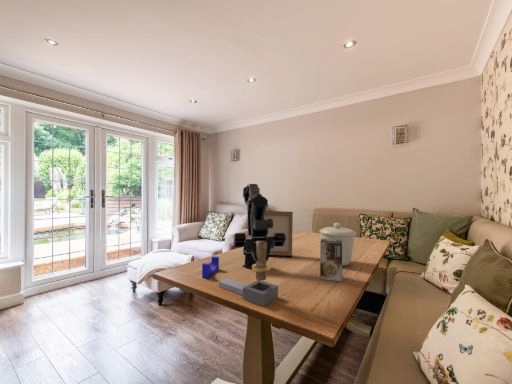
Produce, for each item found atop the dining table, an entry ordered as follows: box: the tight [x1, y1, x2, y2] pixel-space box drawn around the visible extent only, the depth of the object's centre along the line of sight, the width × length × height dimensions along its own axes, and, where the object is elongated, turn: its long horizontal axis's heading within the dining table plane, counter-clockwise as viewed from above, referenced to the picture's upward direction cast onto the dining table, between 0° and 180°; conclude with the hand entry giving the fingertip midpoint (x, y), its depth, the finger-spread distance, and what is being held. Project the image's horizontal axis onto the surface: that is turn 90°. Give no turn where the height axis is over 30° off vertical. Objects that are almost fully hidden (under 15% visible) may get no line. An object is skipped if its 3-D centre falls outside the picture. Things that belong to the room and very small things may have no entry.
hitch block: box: [218, 277, 279, 307], centre depth 89 cm, size 9×23×4 cm, turn 53°
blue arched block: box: [201, 255, 220, 279], centre depth 109 cm, size 12×4×6 cm, turn 168°
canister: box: [318, 222, 357, 267], centre depth 125 cm, size 18×18×21 cm
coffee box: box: [319, 238, 343, 282], centre depth 104 cm, size 9×6×16 cm
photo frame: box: [264, 210, 294, 257], centre depth 143 cm, size 15×22×25 cm
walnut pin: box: [251, 240, 271, 281], centre depth 84 cm, size 6×6×13 cm
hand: (261, 260), depth 83 cm, fingers closed on walnut pin, 4 cm apart
